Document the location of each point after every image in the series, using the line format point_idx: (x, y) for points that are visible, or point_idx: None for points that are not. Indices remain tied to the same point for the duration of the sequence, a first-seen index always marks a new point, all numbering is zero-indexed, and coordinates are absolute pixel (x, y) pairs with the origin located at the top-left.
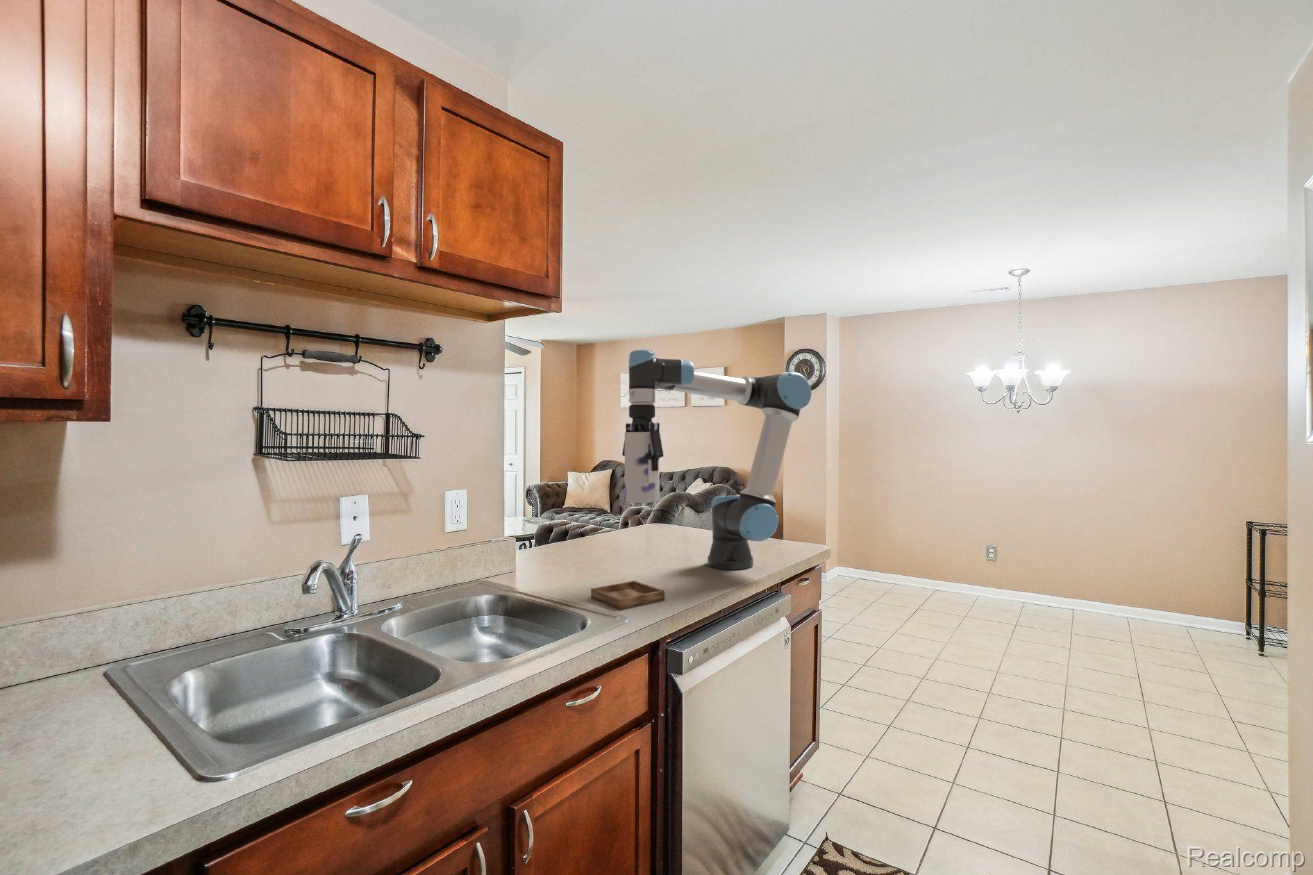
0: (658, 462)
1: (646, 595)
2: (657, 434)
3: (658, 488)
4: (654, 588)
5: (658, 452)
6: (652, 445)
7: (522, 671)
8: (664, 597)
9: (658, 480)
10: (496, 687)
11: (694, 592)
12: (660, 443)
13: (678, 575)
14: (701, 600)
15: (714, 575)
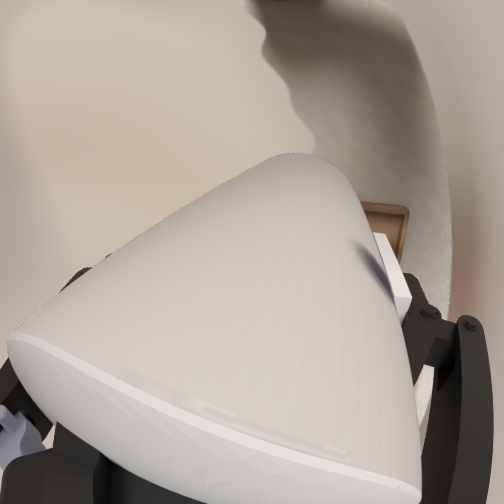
0: (374, 243)
1: (403, 243)
2: (471, 483)
3: (357, 197)
4: (389, 212)
5: (383, 280)
6: (430, 424)
7: (423, 392)
8: (406, 208)
9: (361, 207)
10: (425, 404)
11: (405, 139)
12: (486, 400)
13: (293, 76)
14: (441, 168)
15: (334, 31)
